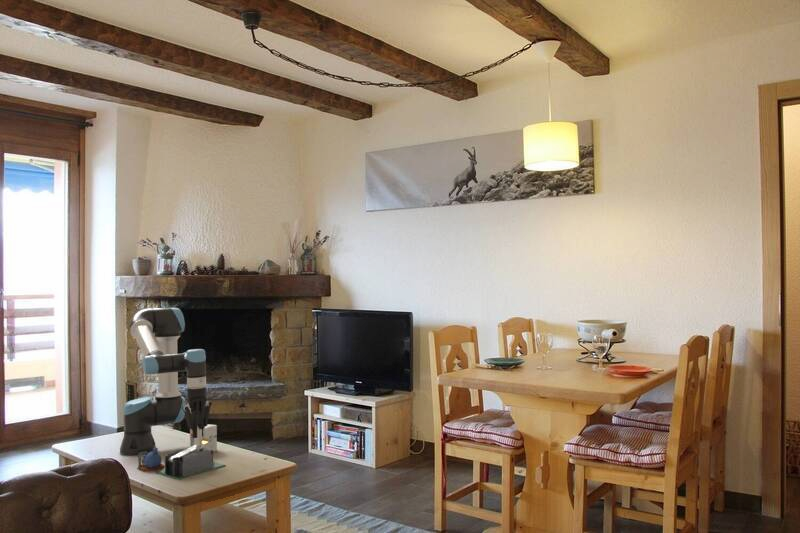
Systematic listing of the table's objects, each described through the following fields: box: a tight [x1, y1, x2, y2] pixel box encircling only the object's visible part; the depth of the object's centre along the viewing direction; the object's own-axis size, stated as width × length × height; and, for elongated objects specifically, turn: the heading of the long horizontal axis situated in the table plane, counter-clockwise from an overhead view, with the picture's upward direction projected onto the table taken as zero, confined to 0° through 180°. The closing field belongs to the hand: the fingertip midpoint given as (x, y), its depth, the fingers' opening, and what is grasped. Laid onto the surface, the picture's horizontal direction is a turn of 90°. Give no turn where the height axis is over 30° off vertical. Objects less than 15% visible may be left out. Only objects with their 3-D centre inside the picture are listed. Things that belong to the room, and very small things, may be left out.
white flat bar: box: [167, 441, 209, 462], centre depth 265 cm, size 17×4×2 cm, turn 143°
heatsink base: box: [155, 447, 227, 480], centre depth 267 cm, size 16×22×8 cm
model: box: [136, 447, 165, 473], centre depth 271 cm, size 12×9×9 cm
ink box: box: [189, 424, 218, 453], centre depth 295 cm, size 9×8×12 cm
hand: (198, 445), depth 268 cm, fingers closed
